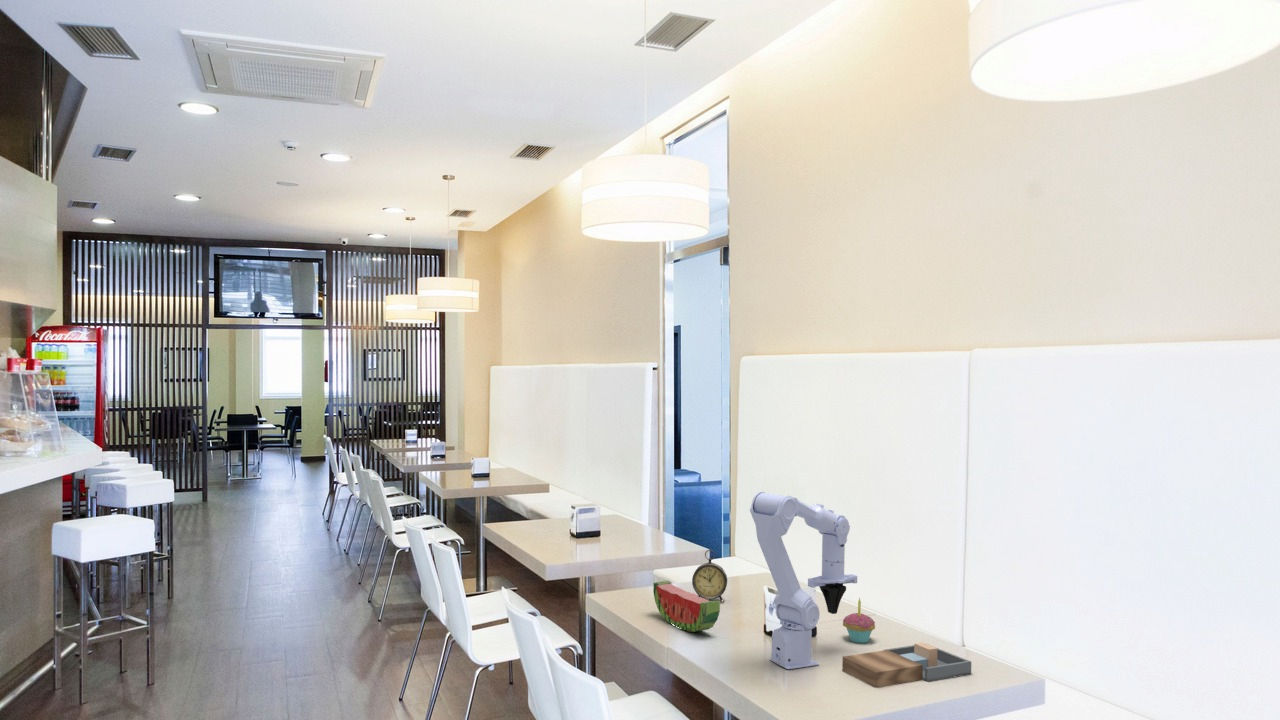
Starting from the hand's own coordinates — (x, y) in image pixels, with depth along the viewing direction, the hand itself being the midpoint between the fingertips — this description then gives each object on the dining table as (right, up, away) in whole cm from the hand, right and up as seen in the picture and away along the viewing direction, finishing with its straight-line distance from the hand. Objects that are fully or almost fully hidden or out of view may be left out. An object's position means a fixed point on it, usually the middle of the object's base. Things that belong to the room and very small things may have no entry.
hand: (832, 612), depth 215 cm
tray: (+20, -10, -12) cm, 26 cm away
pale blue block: (+16, -9, -13) cm, 23 cm away
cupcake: (+9, -11, +10) cm, 17 cm away
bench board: (+8, -10, -18) cm, 21 cm away
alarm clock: (-28, -11, +47) cm, 56 cm away
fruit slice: (-37, -10, +19) cm, 43 cm away
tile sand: (+19, -7, -13) cm, 24 cm away
